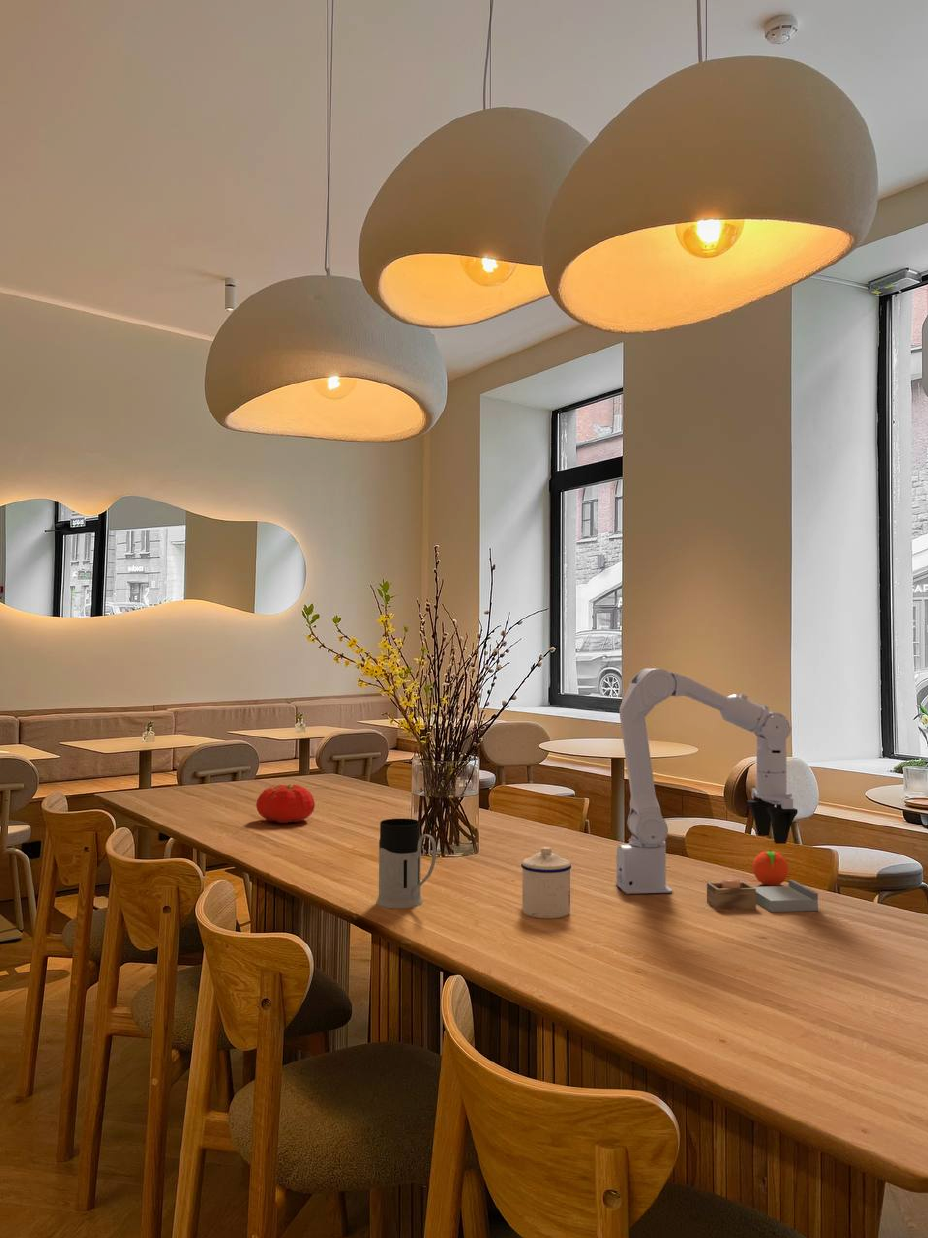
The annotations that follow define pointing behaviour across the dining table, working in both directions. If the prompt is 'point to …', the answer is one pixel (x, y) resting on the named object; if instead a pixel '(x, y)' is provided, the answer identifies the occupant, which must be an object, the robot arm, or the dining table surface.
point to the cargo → (730, 883)
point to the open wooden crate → (731, 896)
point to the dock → (787, 898)
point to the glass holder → (401, 863)
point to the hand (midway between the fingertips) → (771, 839)
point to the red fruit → (770, 868)
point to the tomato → (285, 804)
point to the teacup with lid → (546, 885)
